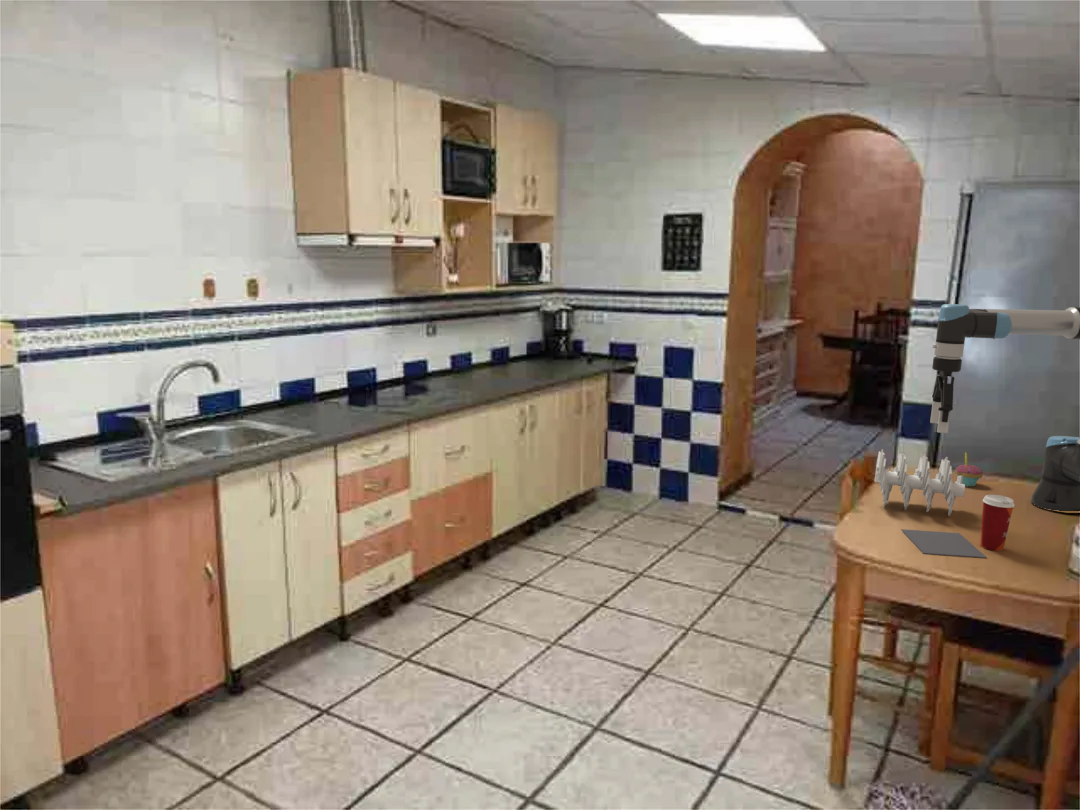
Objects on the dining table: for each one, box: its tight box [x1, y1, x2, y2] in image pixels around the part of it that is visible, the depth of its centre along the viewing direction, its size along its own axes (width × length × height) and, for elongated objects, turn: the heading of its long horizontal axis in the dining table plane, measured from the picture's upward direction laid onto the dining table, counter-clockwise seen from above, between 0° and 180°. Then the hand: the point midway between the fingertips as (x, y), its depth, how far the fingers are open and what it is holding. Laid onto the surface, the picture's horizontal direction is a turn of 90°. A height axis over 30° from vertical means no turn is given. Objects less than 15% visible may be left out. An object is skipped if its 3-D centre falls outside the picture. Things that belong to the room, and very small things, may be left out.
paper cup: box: [979, 494, 1015, 552], centre depth 218 cm, size 8×8×14 cm
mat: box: [900, 528, 987, 559], centre depth 220 cm, size 16×18×1 cm
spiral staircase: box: [874, 448, 966, 517], centre depth 247 cm, size 18×18×25 cm
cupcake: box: [954, 450, 984, 487], centre depth 276 cm, size 9×8×12 cm
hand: (938, 427), depth 239 cm, fingers open, 13 cm apart
